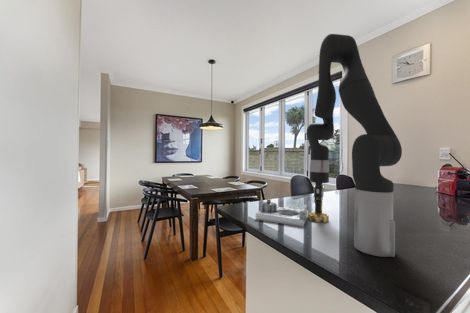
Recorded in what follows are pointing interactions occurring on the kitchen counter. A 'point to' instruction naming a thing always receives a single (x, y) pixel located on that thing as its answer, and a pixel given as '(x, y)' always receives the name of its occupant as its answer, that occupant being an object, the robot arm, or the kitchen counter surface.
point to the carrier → (282, 214)
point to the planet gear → (319, 216)
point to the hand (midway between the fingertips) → (318, 210)
